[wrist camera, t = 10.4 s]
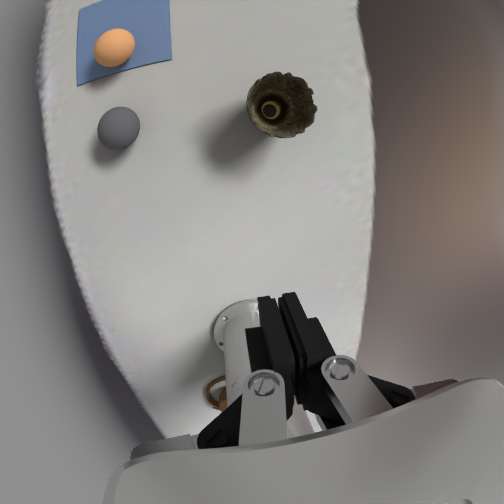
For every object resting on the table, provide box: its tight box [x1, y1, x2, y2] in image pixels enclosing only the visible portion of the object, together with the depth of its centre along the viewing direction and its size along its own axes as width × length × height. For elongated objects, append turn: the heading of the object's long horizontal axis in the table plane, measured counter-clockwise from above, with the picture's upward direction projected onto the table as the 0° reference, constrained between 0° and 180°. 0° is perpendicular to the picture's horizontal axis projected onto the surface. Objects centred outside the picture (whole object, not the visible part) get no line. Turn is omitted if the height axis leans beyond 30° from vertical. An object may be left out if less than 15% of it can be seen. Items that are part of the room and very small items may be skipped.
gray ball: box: [98, 107, 140, 149], centre depth 29 cm, size 6×6×6 cm
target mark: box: [77, 0, 172, 86], centre depth 25 cm, size 14×14×1 cm
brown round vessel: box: [246, 72, 317, 138], centre depth 29 cm, size 7×7×8 cm
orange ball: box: [94, 29, 135, 67], centre depth 24 cm, size 6×6×6 cm
